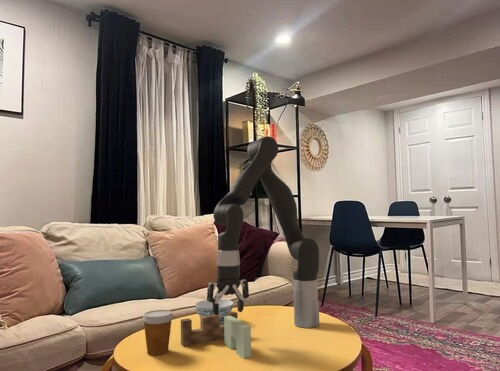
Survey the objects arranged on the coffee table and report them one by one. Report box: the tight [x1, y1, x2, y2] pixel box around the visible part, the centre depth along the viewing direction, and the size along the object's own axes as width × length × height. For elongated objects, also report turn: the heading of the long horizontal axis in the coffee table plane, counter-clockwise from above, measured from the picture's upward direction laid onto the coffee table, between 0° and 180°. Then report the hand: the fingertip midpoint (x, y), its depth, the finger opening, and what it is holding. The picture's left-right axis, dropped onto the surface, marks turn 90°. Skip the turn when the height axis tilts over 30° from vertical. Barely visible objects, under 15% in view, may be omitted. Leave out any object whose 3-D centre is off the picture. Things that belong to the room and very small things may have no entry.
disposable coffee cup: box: [142, 309, 174, 357], centre depth 117 cm, size 10×10×12 cm
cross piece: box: [223, 316, 252, 359], centre depth 117 cm, size 14×2×9 cm, turn 28°
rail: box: [180, 310, 239, 347], centre depth 127 cm, size 20×2×8 cm, turn 118°
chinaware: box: [195, 298, 234, 325], centre depth 147 cm, size 15×15×8 cm
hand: (228, 313), depth 122 cm, fingers open, 8 cm apart
